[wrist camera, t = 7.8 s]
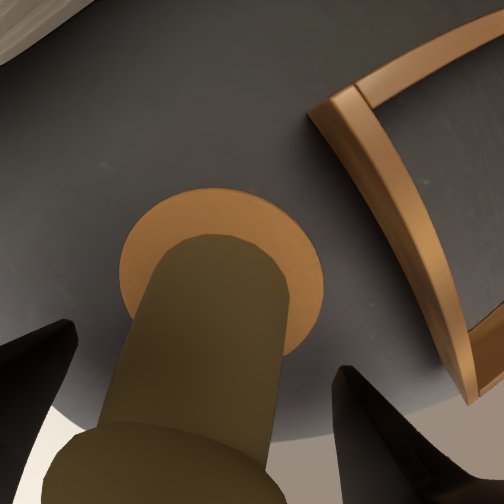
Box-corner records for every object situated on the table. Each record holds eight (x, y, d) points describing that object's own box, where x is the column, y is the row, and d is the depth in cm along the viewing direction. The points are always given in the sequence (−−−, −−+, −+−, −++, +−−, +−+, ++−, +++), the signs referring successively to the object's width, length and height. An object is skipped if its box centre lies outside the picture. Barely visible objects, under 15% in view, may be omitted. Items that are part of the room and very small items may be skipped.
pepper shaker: (307, 251, 11) (392, 589, 1) (270, 364, 14) (268, 593, 3) (155, 219, 11) (-64, 467, 1) (149, 337, 13) (60, 545, 3)
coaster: (357, 308, 13) (359, 313, 12) (210, 387, 15) (209, 393, 15) (234, 139, 10) (233, 139, 10) (89, 269, 13) (85, 273, 12)
